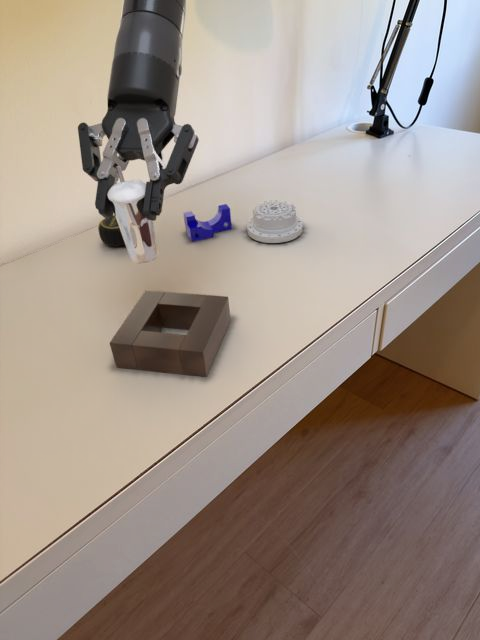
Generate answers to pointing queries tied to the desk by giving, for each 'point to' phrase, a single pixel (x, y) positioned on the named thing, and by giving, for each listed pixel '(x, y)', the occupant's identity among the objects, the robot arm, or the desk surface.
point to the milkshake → (133, 218)
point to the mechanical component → (274, 222)
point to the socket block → (166, 348)
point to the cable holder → (207, 224)
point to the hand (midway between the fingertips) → (127, 216)
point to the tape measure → (110, 232)
